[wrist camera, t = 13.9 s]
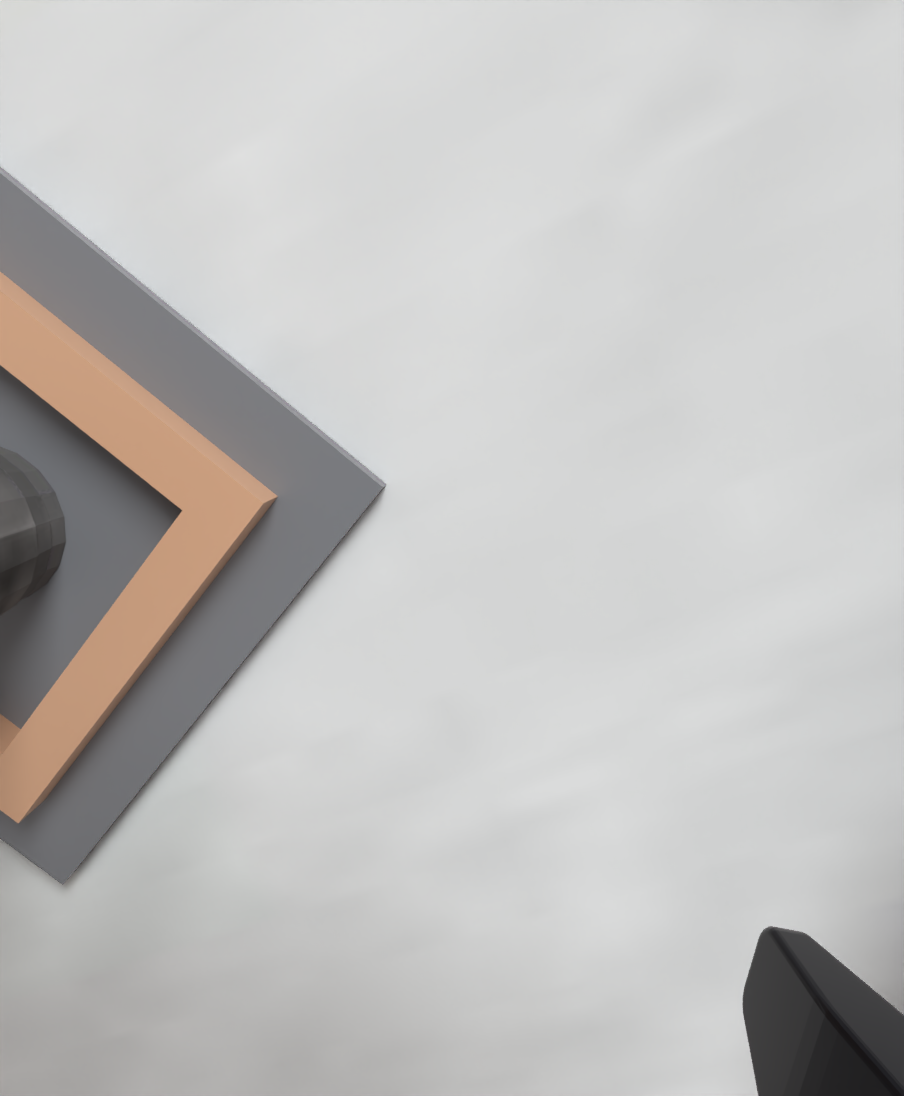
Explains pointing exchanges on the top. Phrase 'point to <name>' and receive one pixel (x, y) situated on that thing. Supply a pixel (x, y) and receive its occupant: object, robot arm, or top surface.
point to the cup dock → (137, 528)
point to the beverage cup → (27, 530)
